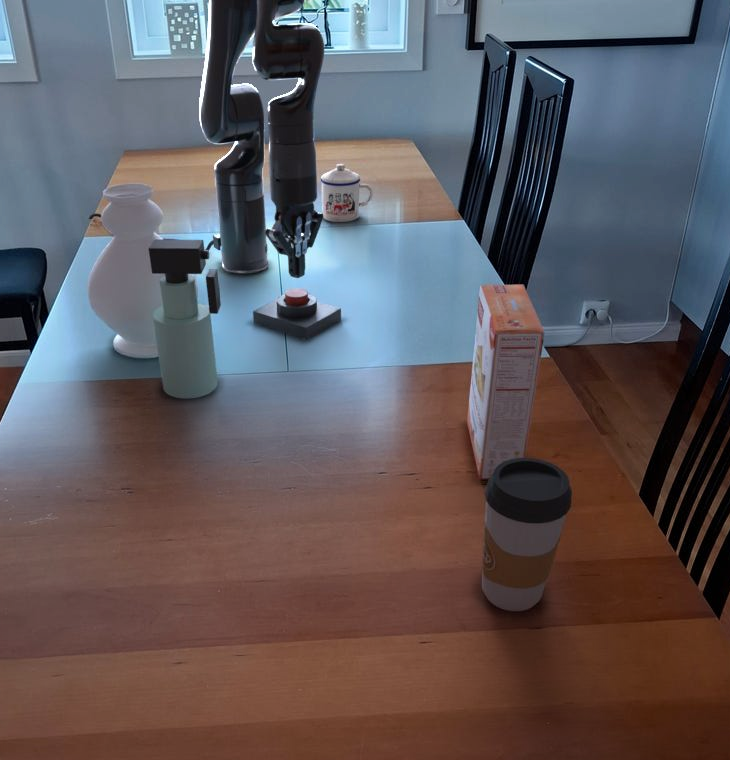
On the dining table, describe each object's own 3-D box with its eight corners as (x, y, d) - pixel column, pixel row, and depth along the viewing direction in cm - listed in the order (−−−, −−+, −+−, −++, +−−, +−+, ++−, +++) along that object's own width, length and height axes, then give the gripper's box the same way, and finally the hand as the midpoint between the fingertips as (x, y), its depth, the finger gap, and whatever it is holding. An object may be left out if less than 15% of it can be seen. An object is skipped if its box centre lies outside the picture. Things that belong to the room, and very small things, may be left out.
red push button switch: (253, 322, 144) (252, 301, 141) (289, 304, 150) (288, 283, 147) (306, 339, 138) (305, 317, 135) (341, 319, 144) (341, 298, 142)
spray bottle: (157, 398, 122) (135, 254, 109) (169, 372, 129) (149, 233, 116) (217, 399, 122) (202, 254, 108) (226, 373, 128) (212, 234, 115)
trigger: (209, 313, 116) (205, 276, 113) (212, 305, 119) (209, 268, 115) (217, 313, 116) (214, 276, 113) (221, 305, 119) (217, 269, 115)
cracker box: (463, 424, 115) (478, 282, 102) (506, 424, 115) (526, 282, 102) (475, 481, 104) (494, 329, 91) (523, 481, 103) (548, 329, 91)
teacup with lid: (321, 223, 187) (320, 170, 180) (321, 211, 194) (320, 159, 187) (373, 222, 187) (374, 169, 180) (371, 210, 194) (372, 158, 187)
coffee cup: (464, 569, 90) (478, 457, 81) (537, 564, 91) (559, 452, 82) (482, 622, 84) (499, 507, 74) (561, 616, 84) (588, 501, 75)
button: (280, 303, 141) (280, 293, 140) (295, 295, 144) (294, 286, 143) (298, 308, 139) (298, 298, 138) (312, 301, 142) (312, 291, 141)
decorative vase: (163, 311, 148) (143, 168, 133) (224, 340, 138) (210, 189, 123) (77, 342, 138) (45, 191, 123) (137, 376, 128) (110, 216, 113)
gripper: (300, 158, 134) (303, 260, 145) (247, 176, 126) (255, 283, 136) (336, 164, 131) (337, 269, 141) (284, 183, 122) (289, 293, 133)
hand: (297, 276), depth 139 cm, fingers closed
